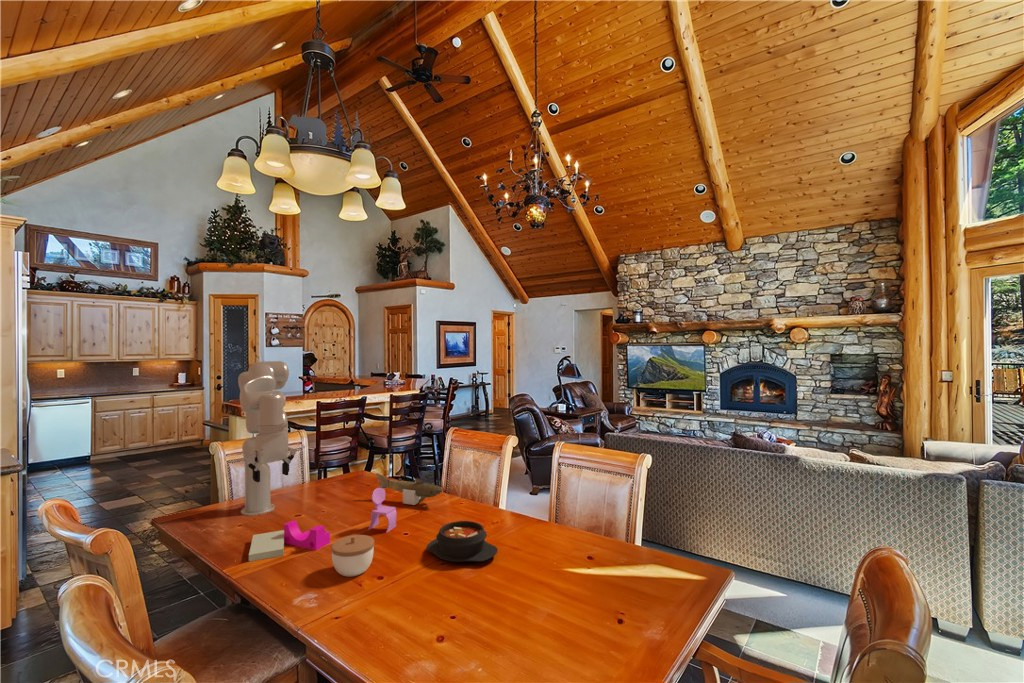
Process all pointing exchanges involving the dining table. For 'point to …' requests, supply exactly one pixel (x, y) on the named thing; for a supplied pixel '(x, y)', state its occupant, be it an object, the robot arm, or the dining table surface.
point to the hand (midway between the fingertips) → (271, 477)
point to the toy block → (305, 536)
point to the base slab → (267, 545)
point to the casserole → (462, 543)
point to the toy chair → (382, 510)
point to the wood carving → (410, 489)
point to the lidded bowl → (352, 554)
